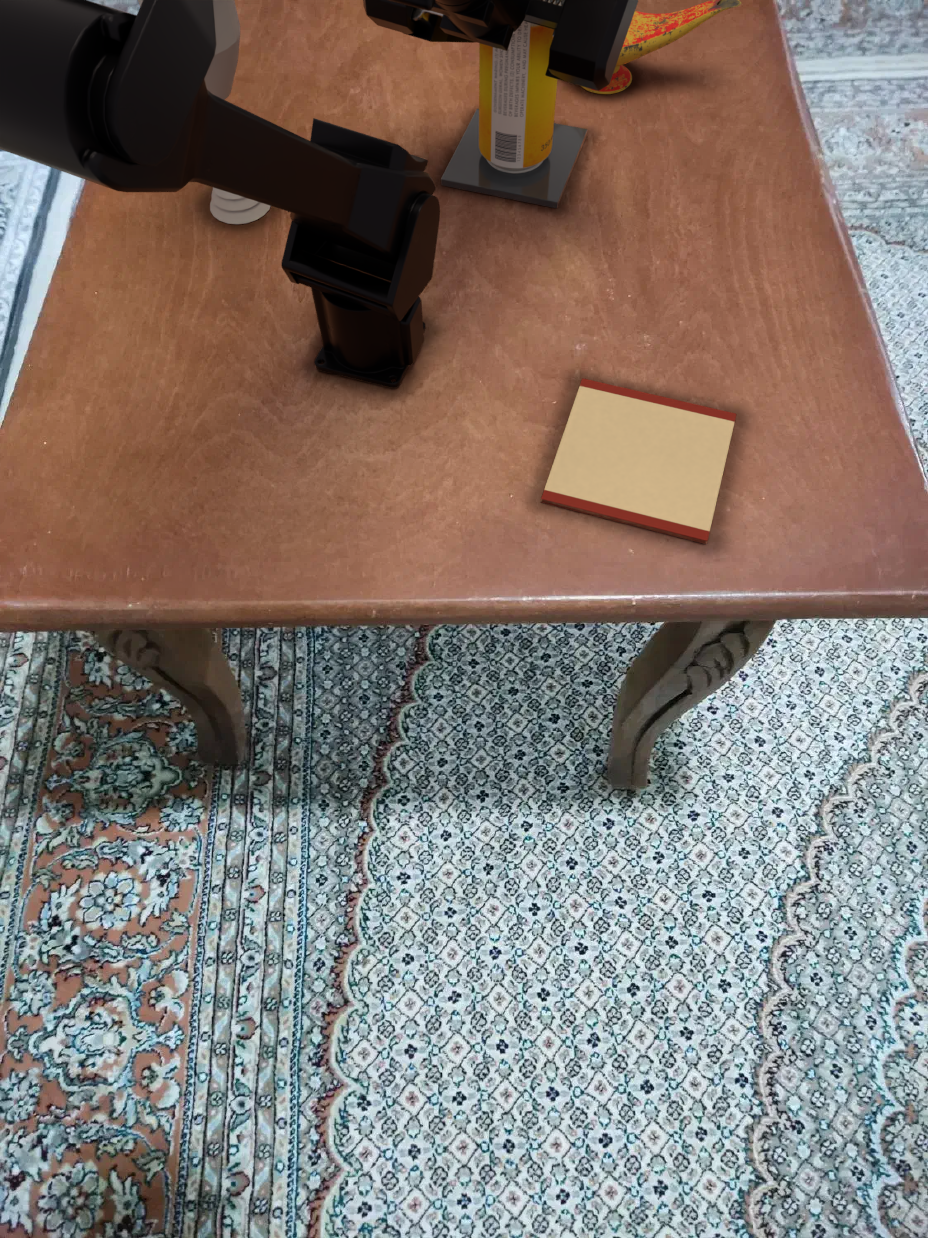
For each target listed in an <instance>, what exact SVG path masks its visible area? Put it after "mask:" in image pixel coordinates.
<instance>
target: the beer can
mask: <svg viewBox="0 0 928 1238" xmlns="http://www.w3.org/2000/svg"><path fill="white" fill-rule="evenodd" d="M543 1H545V0H543ZM548 2H549V3H550V0H549V1H548ZM553 4H555V1H554V3H553ZM559 5H560V6H561V2H560V3H559ZM553 32H554V30H553V29H550V28H546V27H543V26H539V25H536V24H532V23H529V22H525V21H523V22H522V24H521V25H520V26H519V28H518V29H517V30H516V31H514V32H513V34H512V38H511V41H510V44H509V47H508V51H505V50H501V49H498V48H495V47H491V46H488V45H484V44H481V43H478V45H479V47H478V48H479V49H478V53H479V55H478V57H479V60H478V61H479V62H478V65H479V66H478V67H479V69H478V73H479V74H478V109H479V149H480V152H481V154H482V155H483V156H484V157H485V158H486V160H487V161H488V163H489V164H490V165H491V166H492V167H494V168H495V169H497V170H500V171H502V172H506V173H525V172H528V171H531V170H533V169H535V168H537V167H538V166H539V165H540V164H541V163H542V162H543V160H545V159H546V158H547V157H548V155H549V154H550V152H551V149H552V140H553V128H554V123H555V114H556V103H557V101H556V100H557V91H558V79H555V78H551V77H548V76H546V75H545V74H546V70H547V67H548V63H549V50H550V46H551V43H552V40H553V36H552V35H553Z"/></svg>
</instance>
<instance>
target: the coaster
mask: <svg viewBox="0 0 928 1238" xmlns="http://www.w3.org/2000/svg"><path fill="white" fill-rule="evenodd" d="M588 131H589V130H588V129H587V128H584V127H578V126H573V125H568V124H562V123H557V122H554V128H553V140H552V149H551V152H550V154H549V155H548V157H547V158H546V159H545V160H543V162H542V163H541V164H540V165H539V166H538V167H537V168H535V169H533V170H531V171H528V172H525V173H506V172H502V171H500V170H497V169H495V168H494V167H492V166H491V165H490V164H489V163H488V161H487V160H486V158H485V157H484V156H483V155H482V154H481V152H480V149H479V108H476V109H475V111H474V113H473V116H472V117H471V119H470V121H469V123H468V125H467V127H466V129H465V131H464V133H463V135H462V137H461V138H460V141H459V143H458V144H457V147H456V149H455V150H454V152H453V154H452V157H451V158H450V160H449V162H448V164H447V166H446V168H445V170H444V172H443V174H442V176H441V178H440V186H443V187H447V188H453V189H458V190H462V191H469V192H473V193H478V194H484V195H488V196H493V197H497V198H498V197H499V198H502V199H507V200H511V201H512V200H513V201H517V202H523V203H526V204H527V203H528V204H532V205H538V206H542V207H547V208H551V209H558V207H559V205H560V203H561V200H562V198H563V196H564V193H565V190H566V188H567V185H568V183H569V180H570V178H571V175H572V173H573V170H574V168H575V165H576V164H577V161H578V159H579V156H580V154H581V152H582V149H583V146H584V143H585V141H586V139H587V136H588Z"/></svg>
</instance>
